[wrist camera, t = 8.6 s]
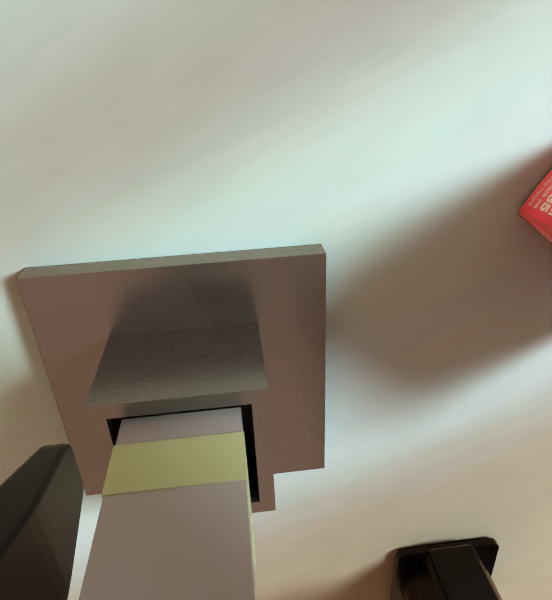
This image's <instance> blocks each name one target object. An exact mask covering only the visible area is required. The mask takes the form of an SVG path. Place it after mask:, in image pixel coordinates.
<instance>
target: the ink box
mask: <svg viewBox="0 0 552 600" xmlns="http://www.w3.org/2000/svg"><path fill="white" fill-rule="evenodd" d="M519 214H520V215H521V216H522V217H523V218H524V219H525V220H526V221H527V222H529V223H530V224H531V225H532V226H533V227H534V228H535V229H536V230H537V231H539V232H540V233H541V234H542V235H543V236H544V237H546V238H547V239H548V240H549V241H550V242H551V243H552V170H551V171H550V172H549V173H548V174H547V175H546V176H545V178H544V179H543V180H542V181H541V182H540V184H539V185H538V186H537V187H536V188H535V190H534V191H533V192H532V194H531V195H530V196H529V197H528V199H527V200H526V202H525V203H524V204H523V206H522V207H521V209H520V211H519Z"/></svg>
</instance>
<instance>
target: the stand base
mask: <svg viewBox="0 0 552 600" xmlns="http://www.w3.org/2000/svg"><path fill="white" fill-rule="evenodd" d="M17 282H18V285H19V288H20V291H21V294H22V298H23V301H24V304H25V307H26V310H27V313H28V316H29V319H30V322H31V325H32V328H33V331H34V335H35V338H36V341H37V344H38V347H39V350H40V353H41V356H42V359H43V362H44V365H45V368H46V372H47V375H48V378H49V381H50V384H51V387H52V390H53V393H54V396H55V399H56V402H57V405H58V409H59V412H60V415H61V418H62V421H63V424H64V427H65V430H66V433H67V436H68V439H69V443H70V446H71V448H72V450H73V452H74V455H75V458H76V462H77V465H78V468H79V471H80V474H81V477H82V481H83V486H84V489H85V492H86V495H93V494H102V491H103V487H104V483H105V479H106V475H107V470H108V466H109V462H110V458H111V454H112V450H113V446H115V445H116V442H117V438H118V434H119V429H120V425H121V421H122V420H123V419H133V418H143V417H152V416H162V415H171V414H181V413H190V412H200V411H210V410H219V409H229V408H238V407H241V415H242V425H243V432H244V438H245V448H246V458H247V469H248V479H249V490H250V500H251V510H252V513H255V512H264V511H272V510H276V509H275V493H274V477H273V474H276V473H284V472H293V471H302V470H310V469H319V468H324V445H325V306H326V253H325V251H324V249H323V247H322V245H321V244H315V245H303V246H291V247H278V248H266V249H253V250H241V251H229V252H216V253H204V254H191V255H179V256H167V257H154V258H142V259H129V260H117V261H105V262H92V263H80V264H67V265H55V266H43V267H30V268H25V269H24V270H23V271H22V272H21V274H20V275H19V276H18V277H17Z"/></svg>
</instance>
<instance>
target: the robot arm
mask: <svg viewBox="0 0 552 600" xmlns="http://www.w3.org/2000/svg"><path fill="white" fill-rule="evenodd" d="M82 498H83V481H82V477H81V474H80V471H79V468H78V465H77V462H76V458H75V455H74V452H73V450H72V448H71V446H70V445H68V444H56V445H47V446H43V447H41V448H40V449H38V450H37V451H36V452H35V453H34V454H33V455H32V456H31V457H30V458H29V459H28V460H27V461H26V462H24V463H23V464H22V465H21V466H20V467H19V468H18V469H17V470H16V471H15V472H14V473H13V474H12V475H11V476H10V477H9V478H8V479H7V480H6V481H4V482H3V483H2V484H1V485H0V600H67V598H68V593H69V588H70V582H71V576H72V569H73V562H74V555H75V548H76V540H77V533H78V526H79V519H80V512H81V505H82ZM498 549H499V546H498V544H497V542H496V540H495V539H493V538H486V539H479V540H471V541H463V542H456V543H448V544H440V545H432V546H425V547H417V548H409V549H403V550H400V551H398V552H397V554H396V559H395V567H394V576H393V584H392V593H391V600H502V598H501V596H500V594H499V592H498V590H497V588H496V586H495V585H494V583H493V581H492V579H491V575H492V571H493V567H494V563H495V560H496V556H497V552H498Z"/></svg>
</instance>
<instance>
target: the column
mask: <svg viewBox="0 0 552 600" xmlns="http://www.w3.org/2000/svg"><path fill="white" fill-rule="evenodd" d="M102 498H103V501H102V505H101V509H100V513H99V517H98V522H97V526H96V530H95V534H94V538H93V542H92V547H91V551H90V555H89V559H88V563H87V568H86V572H85V576H84V580H83V584H82V588H81V593H80V597H79V600H257V593H256V580H255V567H256V560H255V547H254V534H253V522H252V510H251V500H250V490H249V479H248V469H247V458H246V448H245V438H244V432H243V425H242V415H241V407H238V408H229V409H219V410H210V411H200V412H190V413H181V414H171V415H162V416H152V417H143V418H133V419H123V420H122V421H121V425H120V429H119V434H118V438H117V442H116V445H115V446H113V450H112V454H111V458H110V462H109V466H108V470H107V475H106V479H105V483H104V487H103V491H102Z"/></svg>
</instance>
